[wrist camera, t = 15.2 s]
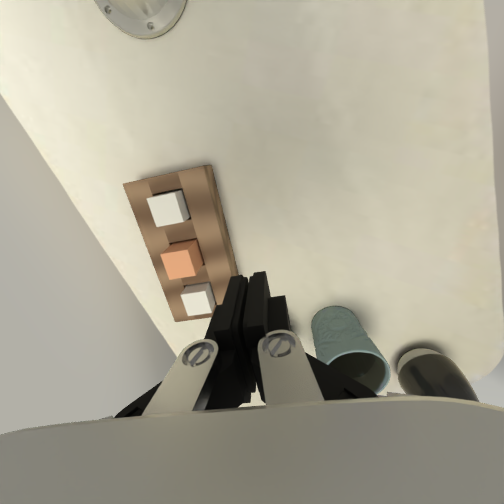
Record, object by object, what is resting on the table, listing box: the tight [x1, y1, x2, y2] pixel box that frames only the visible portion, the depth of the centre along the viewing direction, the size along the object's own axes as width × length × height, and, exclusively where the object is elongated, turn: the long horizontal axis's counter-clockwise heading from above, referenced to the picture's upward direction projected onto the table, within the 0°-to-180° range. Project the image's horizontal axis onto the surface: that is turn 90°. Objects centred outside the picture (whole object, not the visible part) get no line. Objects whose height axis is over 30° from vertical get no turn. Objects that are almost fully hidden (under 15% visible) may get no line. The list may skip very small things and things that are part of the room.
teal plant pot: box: [311, 306, 390, 394], centre depth 41 cm, size 10×10×12 cm
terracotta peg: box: [160, 238, 204, 280], centre depth 37 cm, size 4×4×6 cm
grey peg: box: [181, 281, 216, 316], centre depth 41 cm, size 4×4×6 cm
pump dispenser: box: [397, 348, 479, 402], centre depth 41 cm, size 10×10×15 cm
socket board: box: [123, 165, 239, 322], centre depth 40 cm, size 24×12×5 cm, turn 12°
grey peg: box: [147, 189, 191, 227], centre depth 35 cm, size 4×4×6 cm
